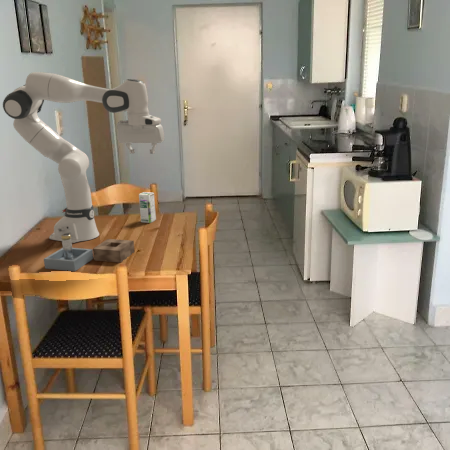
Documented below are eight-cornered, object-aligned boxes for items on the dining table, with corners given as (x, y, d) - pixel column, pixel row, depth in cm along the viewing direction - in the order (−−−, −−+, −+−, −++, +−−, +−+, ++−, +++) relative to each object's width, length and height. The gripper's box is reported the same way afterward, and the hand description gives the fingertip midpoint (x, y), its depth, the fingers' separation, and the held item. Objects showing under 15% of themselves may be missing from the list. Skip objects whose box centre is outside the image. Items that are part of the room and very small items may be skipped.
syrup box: (140, 222, 246) (138, 194, 241) (146, 219, 251) (144, 191, 247) (150, 223, 244) (148, 194, 239) (156, 219, 249) (154, 192, 245)
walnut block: (94, 260, 198) (92, 248, 196) (109, 250, 209) (107, 238, 207) (121, 262, 195) (119, 250, 193) (134, 251, 205) (133, 240, 204)
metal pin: (63, 262, 194) (59, 235, 191) (68, 259, 197) (64, 233, 194) (70, 262, 193) (67, 236, 190) (75, 259, 196) (72, 233, 193)
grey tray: (45, 268, 191) (43, 258, 190) (64, 256, 203) (63, 247, 202) (75, 271, 188) (73, 261, 186) (93, 258, 200) (92, 249, 199)
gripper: (112, 121, 202) (116, 154, 206) (158, 120, 196) (161, 155, 200) (120, 119, 208) (123, 152, 212) (164, 118, 202) (167, 152, 206)
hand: (142, 153), depth 206 cm, fingers open, 8 cm apart
